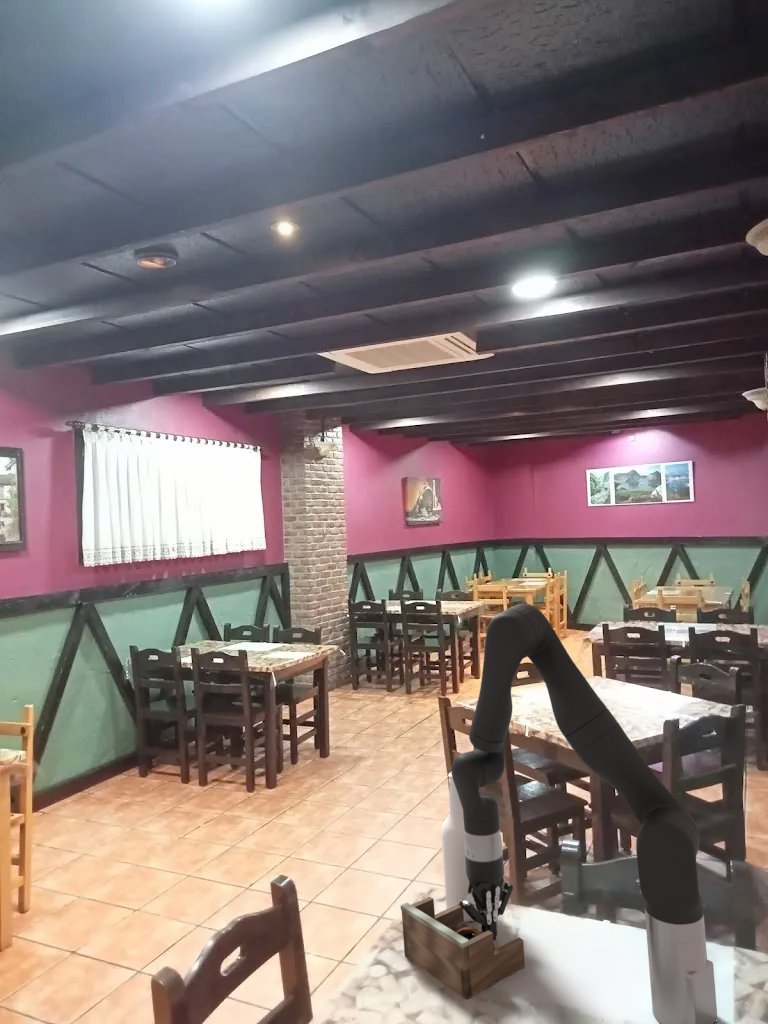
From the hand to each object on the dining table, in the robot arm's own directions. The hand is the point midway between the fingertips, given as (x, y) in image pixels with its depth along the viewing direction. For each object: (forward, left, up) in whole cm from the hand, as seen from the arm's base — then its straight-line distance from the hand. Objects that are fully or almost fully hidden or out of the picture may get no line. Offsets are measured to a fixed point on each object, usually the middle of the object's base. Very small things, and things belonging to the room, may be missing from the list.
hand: (490, 939), depth 146 cm
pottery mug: (-2, +7, -2) cm, 7 cm away
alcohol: (+13, -5, -2) cm, 14 cm away
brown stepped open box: (0, +7, -2) cm, 7 cm away
